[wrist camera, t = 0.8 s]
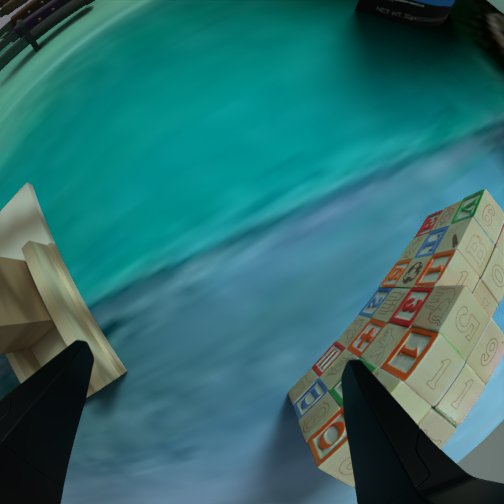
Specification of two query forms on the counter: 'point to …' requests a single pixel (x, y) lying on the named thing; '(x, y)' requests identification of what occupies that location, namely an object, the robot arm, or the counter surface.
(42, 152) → the counter surface
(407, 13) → the protein powder
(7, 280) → the walnut block
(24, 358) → the chute
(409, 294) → the stack of blocks
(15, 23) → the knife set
